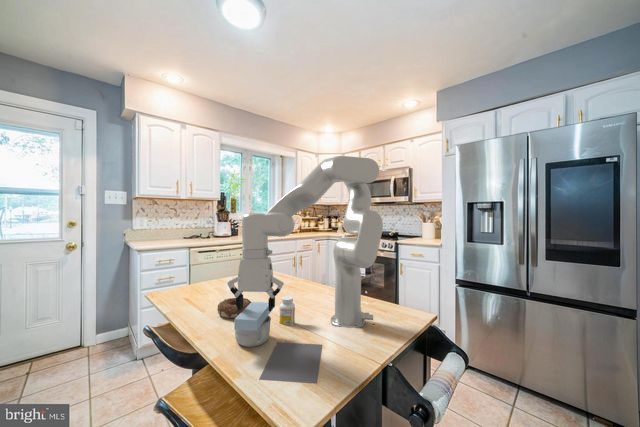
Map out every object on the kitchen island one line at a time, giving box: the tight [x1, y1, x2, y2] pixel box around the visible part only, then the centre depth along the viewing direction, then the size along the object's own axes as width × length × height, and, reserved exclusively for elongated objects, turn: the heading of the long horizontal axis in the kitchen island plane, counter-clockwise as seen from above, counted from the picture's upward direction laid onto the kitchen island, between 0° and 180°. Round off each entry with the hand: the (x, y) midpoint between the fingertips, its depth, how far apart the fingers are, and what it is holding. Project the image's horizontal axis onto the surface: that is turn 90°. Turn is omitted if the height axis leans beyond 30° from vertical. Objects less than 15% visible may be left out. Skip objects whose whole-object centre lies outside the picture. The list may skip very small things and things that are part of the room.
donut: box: [216, 297, 252, 319], centre depth 106 cm, size 14×14×5 cm
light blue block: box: [234, 301, 271, 331], centre depth 81 cm, size 6×14×3 cm, turn 175°
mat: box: [259, 341, 323, 384], centre depth 72 cm, size 14×18×1 cm
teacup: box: [234, 314, 272, 348], centre depth 81 cm, size 14×11×8 cm
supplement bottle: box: [279, 295, 296, 326], centre depth 96 cm, size 5×5×10 cm
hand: (255, 309), depth 81 cm, fingers open, 9 cm apart
